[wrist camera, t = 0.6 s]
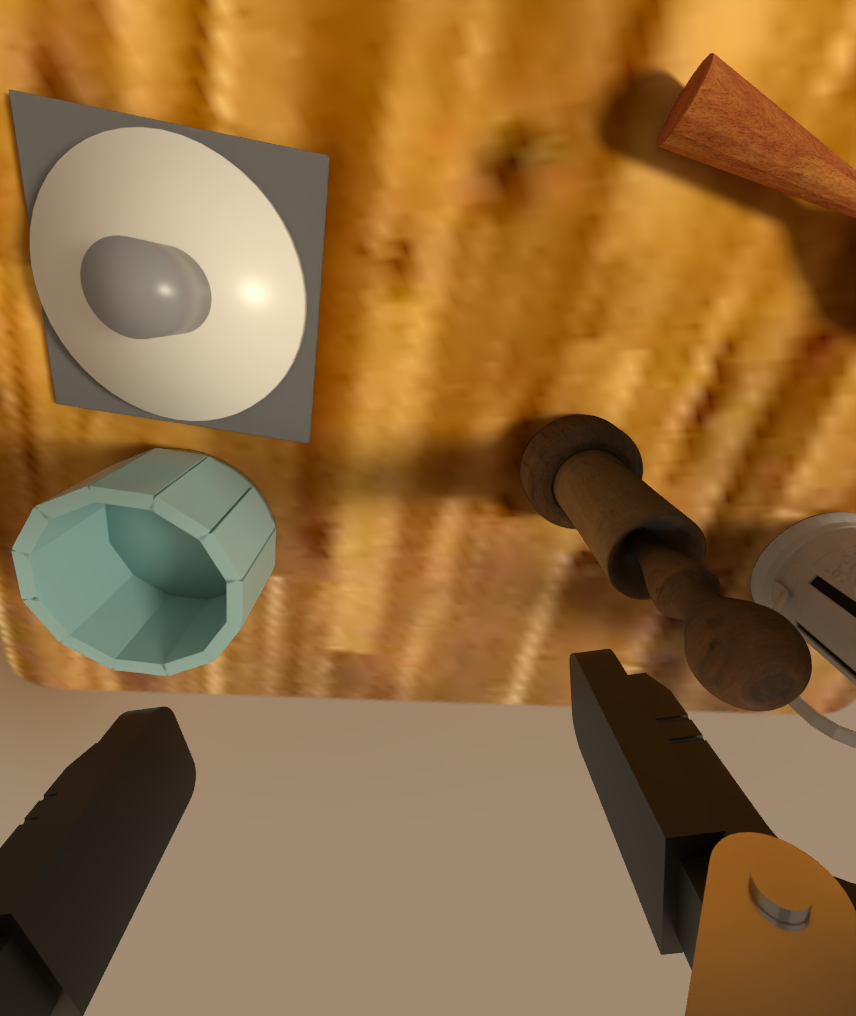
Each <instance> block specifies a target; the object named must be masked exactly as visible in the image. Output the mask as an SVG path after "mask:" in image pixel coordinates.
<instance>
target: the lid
mask: <svg viewBox="0 0 856 1016" xmlns="http://www.w3.org/2000/svg"><path fill="white" fill-rule="evenodd" d="M30 257H31V267H32V271H33V276H34V281H35V285H36V288H37V291H38V294H39V297H40V300H41V303H42V306H43V308H44V310H45V312H46V315H47V317H48V319H49V321H50V323H51V325H52V327H53V328H54V330H55V332H56V333H57V335H58V337H59V339H60V340H61V341H62V343H63V344H64V346H65V347H66V348H67V350H68V351H69V352H70V354H71V355H72V356H73V358H74V359H75V360H76V361H77V362H78V363H79V364H80V365H81V366H82V368H83V369H84V370H85V371H86V372H87V373H88V374H90V375H91V376H92V377H93V378H94V379H95V380H96V381H97V382H98V383H99V384H101V385H102V386H103V387H105V388H106V389H107V390H109V391H110V392H111V393H113V394H114V395H116V396H118V397H119V398H121V399H123V400H124V401H126V402H128V403H129V404H131V405H134V406H136V407H138V408H140V409H142V410H144V411H147V412H150V413H153V414H156V415H159V416H162V417H167V418H172V419H176V420H186V421H208V420H214V419H220V418H224V417H228V416H231V415H234V414H237V413H239V412H241V411H243V410H245V409H247V408H249V407H251V406H253V405H254V404H256V403H257V402H259V401H260V400H262V399H263V398H265V397H266V396H268V395H269V394H270V393H271V392H272V391H273V390H274V389H275V388H276V387H277V386H278V385H279V384H280V383H281V382H282V380H283V379H284V378H285V377H286V375H287V374H288V372H289V371H290V369H291V367H292V366H293V364H294V362H295V360H296V358H297V355H298V353H299V350H300V348H301V345H302V341H303V337H304V333H305V328H306V320H307V291H306V283H305V276H304V272H303V268H302V264H301V260H300V257H299V254H298V251H297V249H296V246H295V243H294V240H293V238H292V236H291V234H290V232H289V230H288V228H287V226H286V224H285V222H284V221H283V219H282V218H281V216H280V214H279V213H278V211H277V210H276V208H275V207H274V205H273V204H272V203H271V201H270V200H269V199H268V198H267V196H266V195H265V194H264V193H263V191H262V190H261V189H260V188H259V187H258V186H257V185H256V184H255V183H254V182H253V181H252V180H251V179H250V178H249V177H248V176H247V175H246V174H245V173H244V172H242V171H241V170H240V169H238V168H237V167H236V166H235V165H233V164H232V163H231V162H229V161H228V160H227V159H225V158H224V157H223V156H221V155H220V154H218V153H216V152H215V151H213V150H211V149H210V148H208V147H206V146H205V145H203V144H201V143H199V142H197V141H194V140H192V139H190V138H187V137H185V136H183V135H180V134H176V133H173V132H169V131H165V130H162V129H154V128H146V127H128V128H119V129H114V130H109V131H104V132H102V133H99V134H97V135H94V136H92V137H89V138H87V139H85V140H84V141H82V142H80V143H79V144H77V145H76V146H74V147H72V148H71V149H70V150H69V151H68V152H67V153H66V154H65V155H64V156H63V157H61V158H60V159H59V160H58V162H57V163H56V164H55V166H54V167H53V168H52V169H51V171H50V172H49V173H48V175H47V177H46V179H45V181H44V183H43V185H42V186H41V188H40V190H39V193H38V196H37V199H36V202H35V205H34V208H33V214H32V220H31V225H30Z"/></svg>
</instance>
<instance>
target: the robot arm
mask: <svg viewBox="0 0 856 1016" xmlns="http://www.w3.org/2000/svg"><path fill="white" fill-rule="evenodd" d="M570 681H571V700H572V717H573V724H574V729H575V734H576V738H577V741H578V745H579V748H580V750H581V753H582V756H583V758H584V761H585V763H586V766H587V768H588V771H589V773H590V776H591V779H592V781H593V784H594V786H595V788H596V791H597V794H598V796H599V799H600V801H601V804H602V806H603V809H604V811H605V814H606V816H607V819H608V822H609V824H610V827H611V829H612V832H613V834H614V837H615V839H616V842H617V844H618V847H619V849H620V852H621V855H622V857H623V859H624V862H625V865H626V867H627V870H628V872H629V875H630V877H631V880H632V882H633V885H634V887H635V890H636V892H637V895H638V897H639V900H640V903H641V905H642V908H643V910H644V913H645V915H646V918H647V920H648V923H649V925H650V928H651V930H652V933H653V935H654V938H655V940H656V943H657V946H658V948H659V951H660V953H661V955H664V954H672V953H682V952H684V954H685V956H686V958H687V961H688V963H689V965H690V967H691V970H692V974H691V981H690V986H689V993H688V999H687V1005H686V1011H685V1016H856V884H854V883H850V882H847V881H845V880H842V879H839V878H837V877H835V876H832V875H831V874H830V873H829V871H828V870H826V869H825V868H824V867H823V866H822V865H821V864H820V863H819V862H818V861H816V860H815V859H814V858H812V857H811V856H809V855H808V854H807V853H805V852H804V851H802V850H800V849H799V848H797V847H795V846H794V845H792V844H790V843H788V842H785V841H783V840H781V839H779V838H778V837H777V836H776V835H775V834H774V833H773V832H772V831H771V829H770V828H769V827H768V826H767V825H766V823H765V822H764V820H763V819H762V817H761V816H760V815H759V813H758V812H757V811H756V809H755V808H754V807H753V805H752V803H751V802H750V801H749V799H748V798H747V797H746V795H745V794H744V792H743V791H742V790H741V788H740V787H739V785H738V784H737V783H736V781H735V780H734V778H733V777H732V776H731V774H730V773H729V771H728V770H727V769H726V767H725V766H724V765H723V763H722V762H721V760H720V759H719V758H718V756H717V755H716V753H715V752H714V751H713V749H712V748H711V746H710V745H709V744H708V742H707V741H706V740H705V741H704V739H703V737H702V734H701V733H700V731H699V730H698V728H697V727H696V726H695V724H694V723H693V721H692V720H689V718H688V715H687V713H686V712H685V710H684V709H683V707H682V706H681V705H680V703H679V702H678V701H677V699H676V698H675V696H674V695H673V694H672V692H671V691H670V690H669V689H667V688H666V687H664V686H663V685H662V684H660V683H659V682H657V681H656V680H655V679H653V678H652V677H650V676H649V675H648V674H646V673H640V674H632V675H627V673H626V671H625V670H624V668H623V667H622V665H621V663H620V662H619V660H618V659H617V657H616V655H615V654H614V652H613V651H612V650H610V649H603V650H596V651H588V652H580V653H573V654H571V655H570ZM195 779H196V770H195V764H194V761H193V758H192V756H191V753H190V751H189V749H188V746H187V744H186V741H185V739H184V737H183V735H182V732H181V729H180V727H179V725H178V722H177V720H176V717H175V715H174V713H173V711H172V710H171V709H170V708H168V707H158V708H149V709H143V710H134V711H128V712H125V713H123V714H122V715H120V716H119V717H118V719H117V720H116V721H115V722H114V723H113V725H112V726H111V727H110V729H109V730H108V731H107V732H106V734H105V735H104V736H103V737H102V739H101V740H100V741H99V742H98V743H96V744H94V745H93V746H92V747H91V748H89V749H88V750H87V751H86V752H85V753H83V754H82V755H81V756H80V757H79V758H78V759H76V760H75V761H74V762H73V763H71V764H70V765H69V766H68V767H67V768H66V769H65V770H64V771H63V773H62V774H61V775H60V776H59V777H58V778H57V780H56V781H55V782H54V783H53V784H52V786H51V787H50V788H49V789H48V791H47V792H46V793H45V794H44V799H43V800H41V801H39V802H38V803H37V804H36V805H35V806H34V808H33V809H32V810H31V811H30V812H29V814H28V815H27V816H26V817H25V822H24V824H22V825H19V826H18V827H17V828H16V829H15V831H14V832H13V833H12V834H11V836H10V837H9V838H8V839H7V840H6V842H5V843H4V844H3V845H2V847H1V848H0V1016H83V1015H84V1013H85V1011H86V1009H87V1007H88V1005H89V1002H90V1001H91V998H92V997H93V995H94V993H95V990H96V988H97V986H98V985H99V982H100V980H101V978H102V976H103V974H104V972H105V970H106V968H107V966H108V964H109V962H110V960H111V958H112V956H113V954H114V952H115V950H116V948H117V946H118V944H119V942H120V940H121V938H122V936H123V934H124V932H125V930H126V928H127V926H128V924H129V922H130V920H131V918H132V916H133V914H134V912H135V910H136V908H137V906H138V904H139V902H140V900H141V898H142V896H143V894H144V892H145V889H146V888H147V886H148V884H149V882H150V880H151V878H152V876H153V874H154V872H155V870H156V867H157V866H158V863H159V861H160V860H161V858H162V855H163V853H164V851H165V849H166V847H167V845H168V843H169V841H170V839H171V837H172V835H173V833H174V831H175V829H176V827H177V825H178V823H179V821H180V819H181V817H182V815H183V813H184V811H185V809H186V807H187V805H188V803H189V801H190V799H191V797H192V794H193V791H194V786H195Z"/></svg>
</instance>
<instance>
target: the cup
mask: <svg viewBox="0 0 856 1016" xmlns="http://www.w3.org/2000/svg"><path fill="white" fill-rule="evenodd" d="M276 541H277V537H276V526H275V521H274V517H273V514H272V511H271V509H270V507H269V505H268V503H267V501H266V499H265V498H264V496H263V495H262V493H261V492H260V491H259V489H258V488H257V487H256V486H255V484H254V483H253V482H252V481H251V480H250V479H249V478H248V477H246V476H245V475H244V474H243V473H242V472H240V471H239V470H238V469H236V468H235V467H233V466H232V465H230V464H228V463H227V462H225V461H223V460H221V459H219V458H217V457H214V456H212V455H209V454H206V453H203V452H199V451H194V450H188V449H162V448H156V449H155V448H153V449H150V450H148V451H145V452H143V453H140V454H138V455H135V456H133V457H130V458H128V459H125V460H123V461H120V462H118V463H115V464H113V465H111V466H109V467H107V468H105V469H103V470H102V471H100V472H98V473H96V474H94V475H92V476H90V477H89V478H87V479H85V480H83V481H81V482H79V483H77V484H76V485H74V486H72V487H70V488H68V489H66V490H64V491H63V492H61V493H59V494H57V495H55V496H53V497H52V498H50V499H48V500H46V501H44V502H42V503H40V504H39V505H37V506H36V507H34V508H33V510H32V512H31V514H30V515H29V517H28V519H27V521H26V523H25V525H24V527H23V528H22V530H21V532H20V534H19V536H18V538H17V540H16V542H15V543H14V545H13V547H12V549H13V550H12V551H11V552H12V556H13V561H14V566H15V570H16V575H17V579H18V584H19V588H20V593H21V598H22V599H25V600H24V601H23V602H24V603H25V604H26V605H27V606H28V607H29V608H30V610H31V611H32V612H33V613H34V614H35V615H36V616H37V618H38V619H39V620H40V621H41V622H42V623H43V624H44V626H45V627H46V628H47V629H48V630H49V631H50V632H51V634H52V635H53V636H54V637H55V638H56V639H57V640H58V641H59V642H60V641H63V642H62V643H61V644H63V645H65V646H67V647H69V648H71V649H73V650H75V651H77V652H79V653H81V654H83V655H84V656H86V657H88V658H90V659H92V660H94V661H96V662H98V663H100V664H102V665H104V666H106V667H108V668H110V669H112V668H113V667H114V670H119V671H128V672H137V673H146V674H154V675H163V676H167V674H168V675H173V674H176V673H179V672H182V671H185V670H188V669H191V668H194V667H198V666H201V665H204V664H207V663H210V662H213V661H214V660H216V659H217V657H218V656H219V655H220V654H221V652H222V651H223V650H224V649H225V648H226V646H227V645H228V644H229V643H230V641H231V640H232V639H233V638H234V637H235V635H236V634H237V633H238V632H239V631H240V629H241V628H242V626H243V624H244V623H245V621H246V619H247V617H248V615H249V613H250V611H251V610H252V608H253V606H254V604H255V602H256V600H257V599H258V597H259V595H260V593H261V591H262V589H263V588H264V586H265V584H266V582H267V580H268V578H269V576H270V575H271V573H272V571H273V569H274V567H275V549H276Z"/></svg>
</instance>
